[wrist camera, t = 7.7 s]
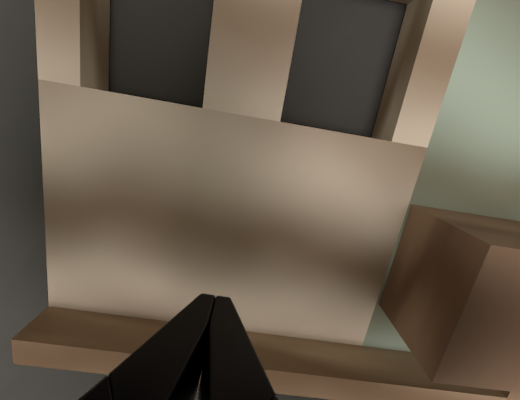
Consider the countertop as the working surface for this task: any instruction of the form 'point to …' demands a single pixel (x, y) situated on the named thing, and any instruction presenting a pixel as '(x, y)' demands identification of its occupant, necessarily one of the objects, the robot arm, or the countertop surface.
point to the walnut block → (458, 297)
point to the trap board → (264, 192)
